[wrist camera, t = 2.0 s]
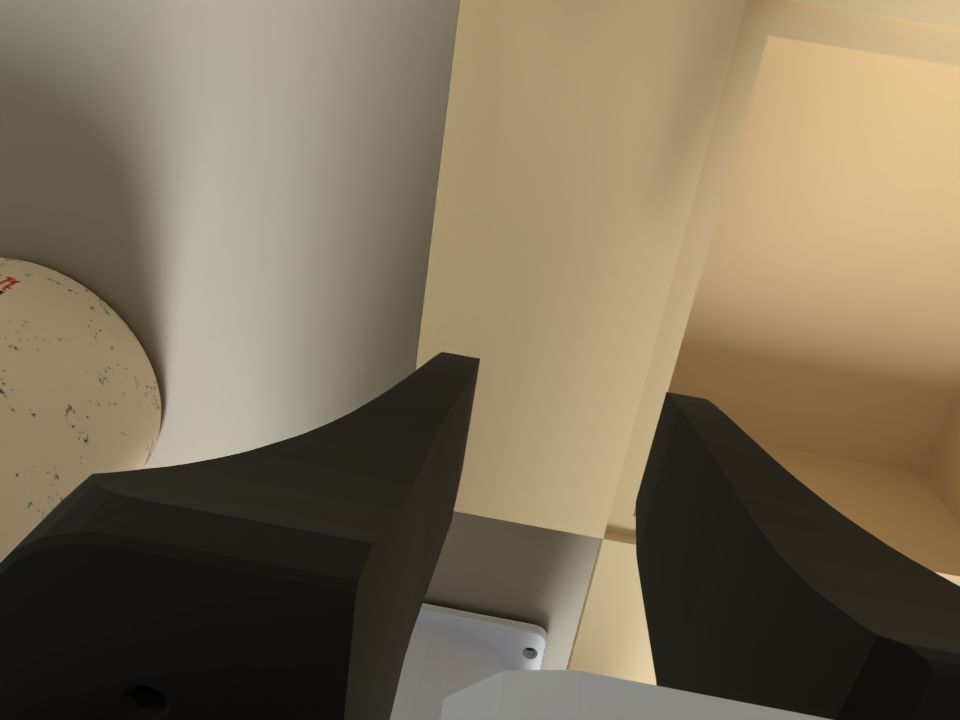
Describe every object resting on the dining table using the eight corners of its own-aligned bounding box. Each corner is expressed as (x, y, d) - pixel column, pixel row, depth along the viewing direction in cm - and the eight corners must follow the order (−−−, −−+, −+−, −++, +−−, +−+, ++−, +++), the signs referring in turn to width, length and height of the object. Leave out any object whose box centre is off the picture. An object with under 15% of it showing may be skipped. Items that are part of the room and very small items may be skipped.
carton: (868, 611, 26) (983, 853, 18) (418, 527, 26) (358, 729, 19) (1250, -194, 16) (1800, -350, 9) (530, -300, 17) (496, -526, 9)
